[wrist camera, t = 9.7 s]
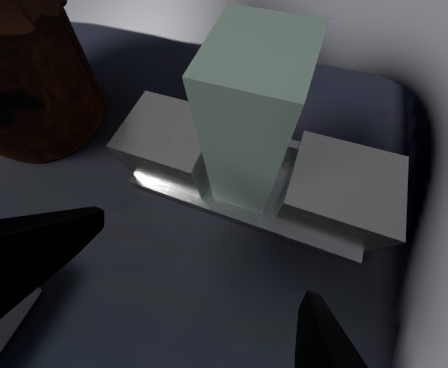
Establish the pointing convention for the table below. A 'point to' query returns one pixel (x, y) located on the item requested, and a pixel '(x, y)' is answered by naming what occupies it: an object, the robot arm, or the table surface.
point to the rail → (283, 186)
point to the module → (251, 96)
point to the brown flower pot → (44, 83)
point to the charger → (16, 317)
